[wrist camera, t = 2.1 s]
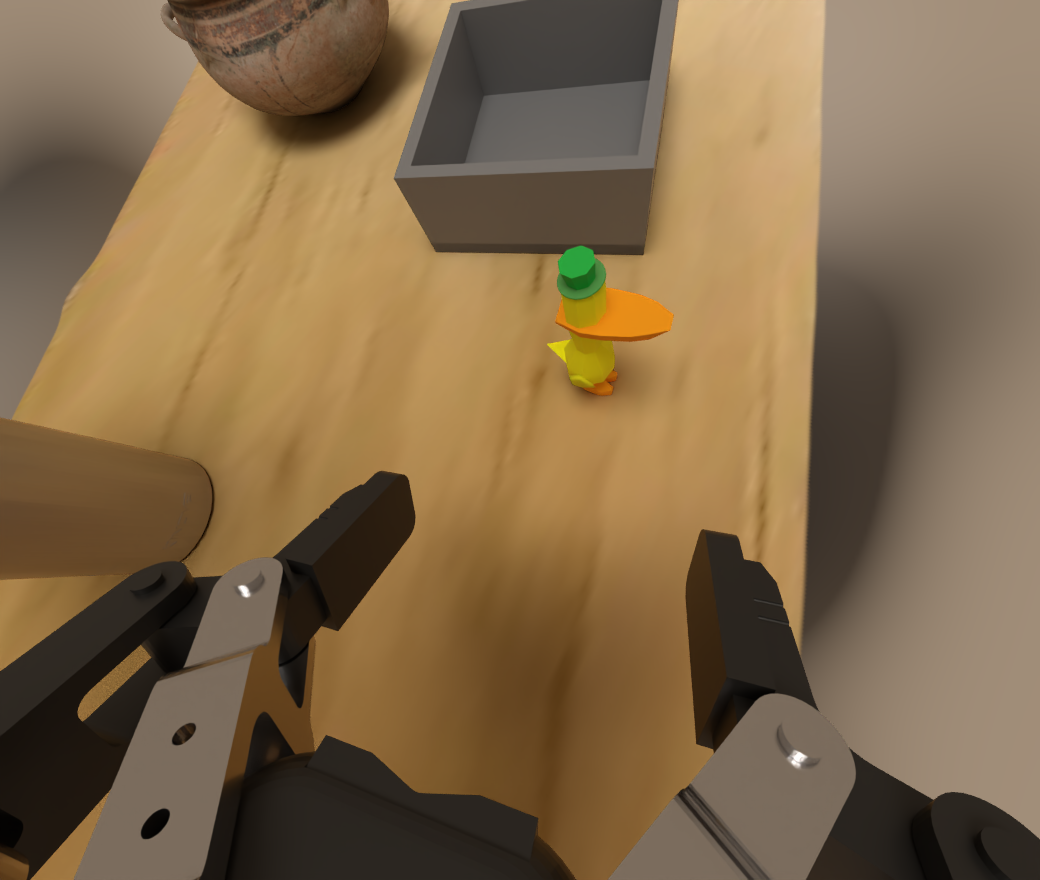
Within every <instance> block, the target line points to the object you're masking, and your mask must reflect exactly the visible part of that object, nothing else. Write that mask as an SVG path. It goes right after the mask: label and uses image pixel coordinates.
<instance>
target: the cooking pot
mask: <svg viewBox="0 0 1040 880" xmlns="http://www.w3.org/2000/svg"><path fill="white" fill-rule="evenodd" d="M174 17H175V18H176V20H177V22H178V24H176V23H175V22H174V21H173V18H174ZM388 17H389V7H388V0H168V3H166V4H164V5H163V7H162V8H161V18H162V21H163V22H164V24H165V25H166V26H167V28H168V29H169V30H170V31H171V32H173V33H174V34H175V35H177V36H178V37H180V38H181V39H184V40H185V41H187V42H188V43H189V45H190V47H191V48H192V51H193V52H194V54H195V56H196V57H197V59H198V61H199V62H200V64H201V65H202V66H203V68H204V69H205V70H206V71H207V72H208V74H209V75H210V76H211V77H212V78H213V79H214V80H215V81H216V82H217V83H218V84H219V85H220V86H221V87H222V88H223V89H224V90H225V91H227V92H228V93H229V94H231V95H232V96H234V97H235V98H237V99H238V100H240V101H242V102H243V103H245V104H247V105H249V106H251V107H253V108H255V109H257V110H260V111H263V112H267V113H271V114H275V115H285V116H299V115H310V114H317V113H330V112H334V111H337V110H339V109H341V108H343V107H345V106H346V105H348V104H349V103H350V102H351V101H352V100H353V99H354V98H355V97H356V96H357V95H358V93H359V92H360V90H361V88H362V86H363V84H364V82H365V81H366V79H367V78H368V76H369V74H370V72H371V71H372V69H373V67H374V65H375V63H376V61H377V59H378V58H379V55H380V53H381V50H382V47H383V44H384V41H385V38H386V33H387V26H388Z"/></svg>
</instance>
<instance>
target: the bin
mask: <svg viewBox="0 0 1040 880" xmlns="http://www.w3.org/2000/svg"><path fill="white" fill-rule="evenodd" d="M678 2H679V0H470V1H464V2H458V3H452V4H451V7H450V10H449V13H448V16H447V19H446V22H445V25H444V28H443V31H442V34H441V37H440V40H439V43H438V46H437V49H436V52H435V55H434V58H433V62H432V65H431V68H430V71H429V74H428V77H427V80H426V83H425V86H424V89H423V92H422V95H421V98H420V101H419V104H418V107H417V110H416V113H415V116H414V119H413V122H412V125H411V128H410V131H409V134H408V137H407V140H406V143H405V146H404V149H403V152H402V155H401V158H400V161H399V164H398V167H397V170H396V173H395V176H394V180H395V181H396V183H397V185H398V186H399V188H400V190H401V192H402V193H403V195H404V197H405V199H406V200H407V202H408V204H409V206H410V207H411V209H412V211H413V213H414V214H415V216H416V218H417V219H418V221H419V223H420V225H421V226H422V228H423V230H424V232H425V233H426V235H427V237H428V239H429V240H430V242H431V244H432V246H433V247H434V249H435V251H436V252H484V253H557V254H564V253H565V252H566V250H568V249H572V248H575V247H578V246H584V247H586V248H589V249H591V250H593V252H594V254H629V255H643V254H644V247H645V240H646V233H647V226H648V219H649V212H650V205H651V198H652V191H653V184H654V177H655V171H656V164H657V157H658V150H659V143H660V136H661V129H662V122H663V115H664V108H665V101H666V94H667V87H668V80H669V72H670V64H671V56H672V49H673V41H674V33H675V25H676V17H677V10H678Z"/></svg>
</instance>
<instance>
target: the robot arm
mask: <svg viewBox="0 0 1040 880" xmlns="http://www.w3.org/2000/svg"><path fill="white" fill-rule="evenodd" d="M211 506H212V488H211V484H210V481H209V477H208V476H207V474H206V472H205V470H204V469H203V468H202V467H201V466H200V465H199V464H198V463H196V462H194V461H192V460H190V459H186V458H181V457H177V456H172V455H168V454H163V453H159V452H154V451H150V450H145V449H141V448H137V447H133V446H128V445H124V444H119V443H114V442H110V441H105V440H101V439H96V438H92V437H87V436H83V435H78V434H73V433H69V432H64V431H60V430H55V429H51V428H46V427H42V426H37V425H32V424H28V423H23V422H19V421H14V420H10V419H5V418H0V580H8V579H29V578H50V577H71V576H95V575H116V574H133V575H131V576H129V577H128V578H126V579H125V580H124V581H122V582H121V583H120V584H118V585H117V586H115V587H114V588H113V589H111V590H110V591H109V592H107V593H106V594H105V595H103V596H102V597H101V598H99V599H98V600H96V601H95V602H94V603H92V604H91V605H90V606H88V607H87V608H86V609H84V610H83V611H82V612H80V613H79V614H78V615H76V616H75V617H73V618H72V619H71V620H69V621H68V622H67V623H65V624H64V625H63V626H61V627H60V628H59V629H57V630H56V631H54V632H53V633H52V634H50V635H49V636H48V637H46V638H45V639H44V640H42V641H41V642H40V643H38V644H37V645H35V646H34V647H33V648H31V649H30V650H29V651H27V652H26V653H25V654H23V655H22V656H21V657H19V658H18V659H17V660H15V661H14V662H12V663H11V664H10V665H8V666H7V667H6V668H4V669H3V670H2V671H0V880H30V879H31V878H32V877H33V876H34V875H35V874H36V873H37V871H38V870H39V869H40V868H41V867H42V866H43V865H44V864H45V862H46V861H47V860H48V859H49V858H50V857H51V856H52V855H53V853H54V852H55V851H56V850H57V849H58V848H59V847H60V846H61V844H62V843H63V842H64V841H65V840H66V839H67V838H68V837H69V835H70V834H71V833H72V832H73V831H74V830H75V829H76V828H77V826H78V825H79V824H80V823H81V822H82V821H83V820H84V819H85V817H86V816H87V815H88V814H89V813H90V812H91V811H92V810H93V809H94V807H95V806H96V805H97V804H98V803H99V802H100V801H101V800H102V798H103V797H104V796H105V795H106V794H107V793H108V792H109V791H110V789H111V791H110V793H109V796H108V798H107V800H106V803H105V805H104V808H103V810H102V812H101V815H100V817H99V820H98V822H97V824H96V827H95V829H94V832H93V834H92V836H91V839H90V841H89V844H88V846H87V849H86V851H85V853H84V856H83V858H82V861H81V863H80V865H79V868H78V870H77V873H76V875H75V877H74V880H576V879H575V877H574V876H573V874H572V873H571V872H570V870H569V869H568V867H567V866H566V865H565V863H564V862H563V860H562V859H561V858H560V857H559V856H558V855H557V854H556V853H555V851H554V850H553V849H552V848H551V847H550V846H549V845H548V844H547V843H545V842H544V841H543V840H542V839H541V838H540V837H538V818H536V817H534V816H531V815H529V814H526V813H524V812H521V811H518V810H516V809H513V808H511V807H508V806H506V805H503V804H501V803H498V802H496V801H493V800H490V799H488V798H485V797H483V796H480V795H455V794H426V793H418V792H415V791H414V790H412V789H411V788H410V787H409V786H408V785H407V784H405V783H404V782H403V781H402V780H401V779H400V778H399V777H398V776H397V775H396V774H395V773H393V772H392V771H391V770H390V769H389V768H388V767H387V766H386V765H385V764H384V763H383V762H382V761H380V760H379V759H378V758H377V757H376V756H375V755H374V754H373V753H371V752H368V751H366V750H363V749H361V748H358V747H356V746H353V745H350V744H348V743H345V742H343V741H340V740H338V739H335V738H333V737H330V736H327V735H326V736H325V738H324V739H323V741H322V742H321V744H320V745H319V747H318V749H317V750H316V751H315V749H314V739H313V733H312V729H311V722H310V708H311V696H312V684H313V671H314V659H315V646H316V640H315V637H314V634H315V633H316V632H317V631H318V629H319V628H320V627H321V626H323V627H326V628H330V629H333V630H336V631H339V629H340V628H341V627H342V625H343V624H344V623H345V621H346V620H347V619H348V617H349V616H350V615H351V613H352V612H353V611H354V610H355V608H356V607H357V606H358V604H359V603H360V602H361V600H362V599H363V598H364V596H365V595H366V594H367V592H368V591H369V590H370V588H371V587H372V586H373V584H374V583H375V582H376V580H377V579H378V578H379V576H380V575H381V574H382V572H383V571H384V570H385V568H386V567H387V566H388V564H389V563H390V562H391V560H392V559H393V558H394V556H395V555H396V554H397V553H398V551H399V550H400V549H401V547H402V546H403V545H404V543H405V542H406V541H407V539H408V538H409V537H410V535H411V533H412V531H413V529H414V525H415V511H414V505H413V500H412V495H411V490H410V484H409V480H408V478H407V476H405V475H402V474H397V473H391V472H386V471H379V472H377V473H376V474H375V475H374V476H372V477H371V478H370V479H369V480H368V481H367V482H366V483H365V484H364V485H359V486H357V487H355V488H353V489H352V490H350V491H348V492H346V493H344V494H343V495H342V496H340V497H339V498H338V499H337V500H336V501H335V502H334V503H333V504H332V505H331V506H330V508H329V509H328V508H327V509H326V510H325V511H324V512H323V513H322V514H321V515H320V516H319V518H318V519H315V520H314V521H313V522H312V523H311V524H310V525H309V526H308V527H306V528H305V529H304V530H303V531H302V532H301V533H300V534H299V535H298V536H297V537H295V538H294V539H293V540H292V541H291V542H290V543H289V544H288V545H287V546H286V547H284V548H283V549H282V550H281V551H280V552H279V553H278V554H277V555H276V556H274V557H273V558H257V559H253V560H249V561H247V562H244V563H242V564H240V565H238V566H236V567H234V568H233V569H231V570H230V571H228V572H227V573H226V574H224V575H223V576H214V577H195V578H193V577H192V575H191V574H190V572H189V570H188V569H187V567H186V566H185V565H184V564H183V563H181V562H180V561H181V560H182V559H183V558H185V557H186V556H187V555H188V553H189V552H190V551H191V550H192V549H193V548H194V547H195V545H196V544H197V542H198V541H199V539H200V538H201V536H202V534H203V532H204V530H205V528H206V525H207V523H208V519H209V516H210V512H211ZM686 610H687V623H688V637H689V650H690V664H691V678H692V691H693V705H694V718H695V732H696V744H698V745H701V746H705V747H708V748H711V749H713V750H714V754H713V756H712V757H711V758H710V759H709V761H708V762H707V763H706V764H705V766H704V767H703V768H702V769H701V771H700V772H699V773H698V774H697V776H696V777H695V778H694V779H693V781H692V782H691V783H690V784H689V785H688V786H687V787H686V788H685V789H682V790H681V791H680V792H679V793H678V794H677V795H676V796H675V797H674V798H673V799H672V800H671V802H670V803H669V804H668V805H667V806H666V808H665V809H664V810H663V811H662V813H661V814H660V815H659V816H658V818H657V819H656V820H655V821H654V823H653V824H652V825H651V826H650V828H649V829H648V830H647V831H646V833H645V834H644V835H643V836H642V838H641V839H640V840H639V841H638V843H637V844H636V845H635V846H634V847H633V849H632V850H631V851H630V852H629V854H628V855H627V856H626V857H625V859H624V860H623V861H622V862H621V864H620V865H619V866H618V867H617V869H616V870H615V871H614V872H613V874H612V875H611V876H610V877H609V879H608V880H1040V839H1039V838H1038V837H1036V836H1035V835H1034V834H1033V833H1032V832H1031V831H1030V830H1028V829H1027V828H1026V827H1025V826H1024V825H1022V824H1021V823H1020V822H1018V821H1017V820H1016V819H1014V818H1013V817H1012V816H1010V815H1009V814H1007V813H1006V812H1004V811H1003V810H1001V809H999V808H998V807H996V806H994V805H992V804H990V803H988V802H987V801H985V800H982V799H980V798H977V797H975V796H972V795H968V794H964V793H958V792H950V793H945V794H942V795H940V796H938V797H937V798H936V799H934V800H933V799H931V798H929V797H927V796H926V795H924V794H922V793H920V792H919V791H917V790H915V789H913V788H912V787H910V786H908V785H906V784H905V783H903V782H901V781H899V780H898V779H896V778H894V777H892V776H890V775H889V774H887V773H885V772H884V771H882V770H880V769H878V768H877V767H875V766H873V765H872V764H870V763H869V762H867V761H865V760H864V759H863V758H861V757H860V756H859V755H857V754H856V753H855V752H853V751H852V750H851V749H850V748H849V747H848V745H847V744H846V742H845V740H844V739H843V737H842V736H841V734H840V733H839V732H838V730H837V729H836V728H835V727H834V726H833V725H832V723H831V722H830V721H829V720H828V719H827V718H826V717H824V716H823V715H822V714H821V713H820V712H819V710H818V708H817V706H816V704H815V701H814V698H813V696H812V692H811V689H810V686H809V683H808V680H807V677H806V673H805V670H804V667H803V664H802V661H801V658H800V655H799V651H798V648H797V645H796V642H795V639H794V636H793V633H792V630H791V627H789V620H788V617H787V614H786V611H785V609H784V608H783V601H782V598H781V595H780V592H779V589H778V586H777V583H776V581H775V580H774V579H773V578H772V576H771V575H770V574H769V573H768V571H767V570H766V569H765V568H764V566H763V565H762V564H761V563H760V562H755V561H750V560H744V558H743V554H742V550H741V546H740V542H739V539H738V537H737V536H736V535H732V534H726V533H721V532H715V531H710V530H704V529H702V530H701V532H700V534H699V537H698V541H697V544H696V548H695V551H694V554H693V558H692V561H691V565H690V568H689V571H688V576H687V582H686ZM140 645H142V646H143V648H144V649H145V650H146V651H147V652H148V654H149V655H150V656H151V657H152V658H151V659H149V660H148V661H147V662H146V663H145V664H144V665H143V666H142V667H141V668H140V669H139V670H138V671H137V672H136V673H135V674H134V675H132V676H131V677H130V678H129V679H128V680H127V681H126V682H125V683H124V684H123V685H122V686H121V687H120V688H119V689H118V690H117V691H116V692H114V693H113V694H112V695H111V696H110V697H109V698H108V699H107V700H106V701H105V702H104V703H103V704H102V705H101V706H100V707H99V708H98V709H96V710H95V711H94V712H93V713H92V714H91V715H90V716H89V717H88V718H87V719H86V720H84V721H83V722H82V721H81V720H80V719H79V718H78V713H77V711H78V707H79V704H80V702H81V701H82V699H83V698H84V696H85V695H86V694H87V693H88V692H89V691H90V690H91V689H92V688H93V687H94V686H95V685H96V684H97V683H98V682H99V681H101V680H102V679H103V678H104V677H105V676H106V675H107V674H108V673H109V672H111V671H112V670H113V669H114V668H115V667H116V666H117V665H118V664H120V663H121V662H122V661H123V660H124V659H125V658H126V657H127V656H128V655H130V654H131V653H132V652H133V651H134V650H135V649H136V648H137V647H139V646H140Z"/></svg>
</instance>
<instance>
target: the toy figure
mask: <svg viewBox="0 0 1040 880" xmlns="http://www.w3.org/2000/svg"><path fill="white" fill-rule="evenodd" d="M558 266H559V272H560V273H559V275H558V279H557V286H558V289H559V291H560V293H561V295H562V300H561V304H560V307H559V310H558V314H557V317H556V320H555V322H556V323H557V324H558V325H560V326H562V327H564V328H565V329H567V330H569V332H570V335H571V337H572V339H571V340H565V341H560V342H555V343H550V344H547V345H548V346H549V347H550V348H551V349H552V350H553V351H554V352H555V353H556V354H557V355H558V356H560V357H561V358H562V359H563V360H564V361H565V362H566V364H567V369H568V374H569V376H570V377H569V378H570V381H571V383H572V384H573V385H575V386H578V387H581V388H583V389H584V390H587V391H589V392H592V393H594V394H596V395H601V396H604V395H611V394H612V391H613V388H614V387H613V386H612V385H610V384H609V383H608V382H611V381H615V380H616V378H617V372H615V371H614V370H613V369H614V364H615V355H614V350H613V344H612V341H626V342H632V341H641V340H649V339H652V338H654V337H656V336H658V335H661V334H663V333H665V332H668V331H670V330H671V325H672V321H673V316H674V315H673V314H672V313H671V312H670V311H668V310H667V309H666V308H665V307H663V306H662V305H661V304H660V303H659V302H657V301H654V300H652V299H650V298H647V297H645V296H643V295H640V294H635V293H631V292H626V291H622V290H618V289H613V288H606V283H605V278H606V271H605V268H604V265H603V264H602V263H601V262H600V261H599V260H597V259H595V257H594V252H593V250H591V249H589V248H586V247H584V246H578V247H575V248H572V249H568V250H566V252H565V253H564V254H563V255H562V257H561V258H560V259H559V261H558Z"/></svg>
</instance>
